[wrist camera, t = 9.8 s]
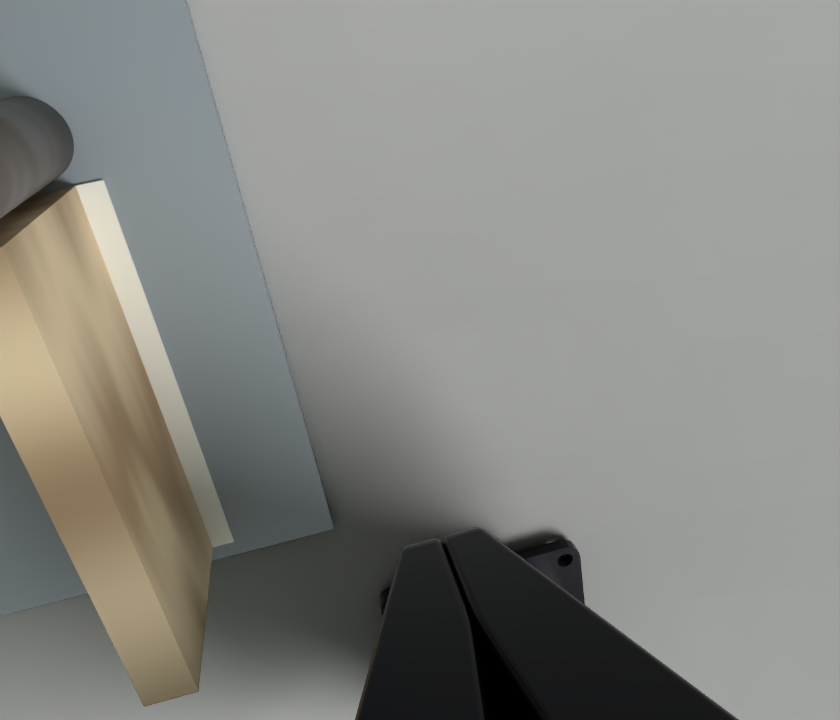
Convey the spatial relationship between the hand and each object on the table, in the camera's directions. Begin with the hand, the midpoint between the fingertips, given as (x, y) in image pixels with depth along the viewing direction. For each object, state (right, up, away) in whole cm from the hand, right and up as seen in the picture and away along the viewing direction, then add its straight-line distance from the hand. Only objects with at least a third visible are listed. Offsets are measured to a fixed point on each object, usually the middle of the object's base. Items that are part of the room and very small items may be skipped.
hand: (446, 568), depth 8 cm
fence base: (-8, +2, +11) cm, 13 cm away
